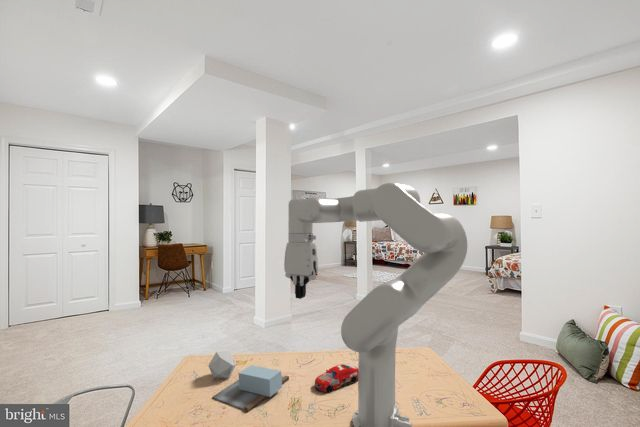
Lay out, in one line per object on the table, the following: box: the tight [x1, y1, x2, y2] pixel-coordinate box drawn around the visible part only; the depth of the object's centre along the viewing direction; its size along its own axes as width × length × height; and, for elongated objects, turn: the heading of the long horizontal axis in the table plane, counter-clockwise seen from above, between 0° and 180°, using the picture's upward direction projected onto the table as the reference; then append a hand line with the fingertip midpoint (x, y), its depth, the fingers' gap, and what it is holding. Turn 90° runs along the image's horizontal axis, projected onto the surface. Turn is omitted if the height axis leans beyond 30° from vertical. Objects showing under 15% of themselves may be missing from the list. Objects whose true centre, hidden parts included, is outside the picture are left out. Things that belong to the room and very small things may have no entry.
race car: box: [314, 363, 358, 393], centre depth 105 cm, size 16×7×5 cm, turn 122°
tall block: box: [238, 364, 283, 398], centre depth 100 cm, size 5×6×12 cm
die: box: [207, 351, 237, 379], centre depth 109 cm, size 8×9×10 cm
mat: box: [212, 375, 290, 413], centre depth 101 cm, size 14×20×1 cm
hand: (300, 297), depth 100 cm, fingers closed
